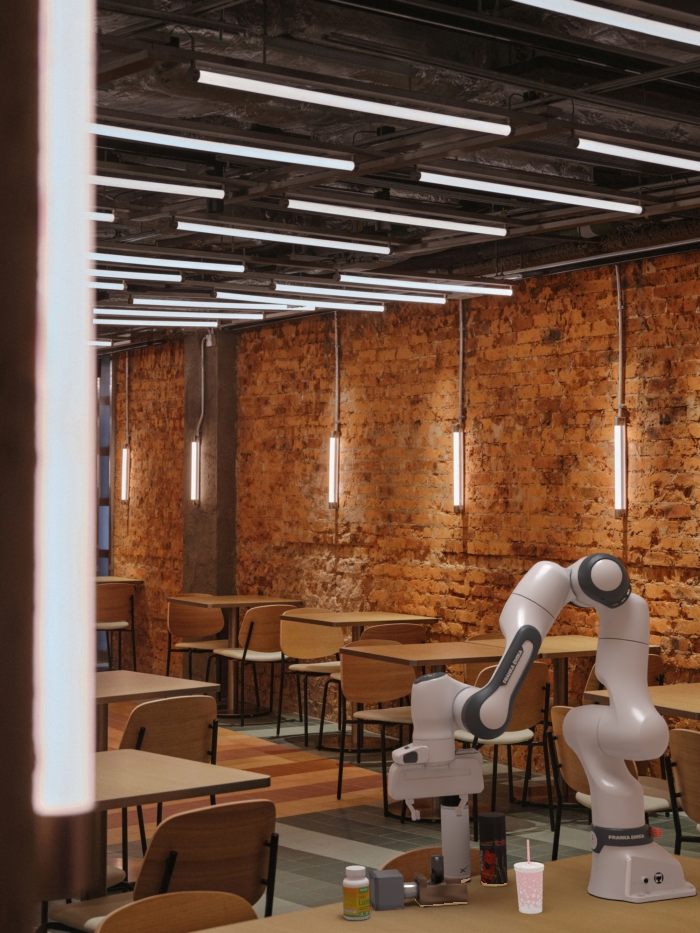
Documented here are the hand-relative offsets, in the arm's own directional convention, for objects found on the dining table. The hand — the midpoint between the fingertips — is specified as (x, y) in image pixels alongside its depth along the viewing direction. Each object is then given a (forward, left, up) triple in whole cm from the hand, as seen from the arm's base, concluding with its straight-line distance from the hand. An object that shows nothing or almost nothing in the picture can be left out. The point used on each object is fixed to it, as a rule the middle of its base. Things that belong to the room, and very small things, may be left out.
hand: (437, 817), depth 255 cm
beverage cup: (-16, +11, -17) cm, 26 cm away
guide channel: (0, 0, -17) cm, 17 cm away
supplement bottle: (+19, +7, -18) cm, 27 cm away
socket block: (+11, 0, -17) cm, 21 cm away
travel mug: (-8, -17, -17) cm, 26 cm away
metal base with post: (+6, 0, -16) cm, 17 cm away
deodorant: (-15, -12, -17) cm, 26 cm away
